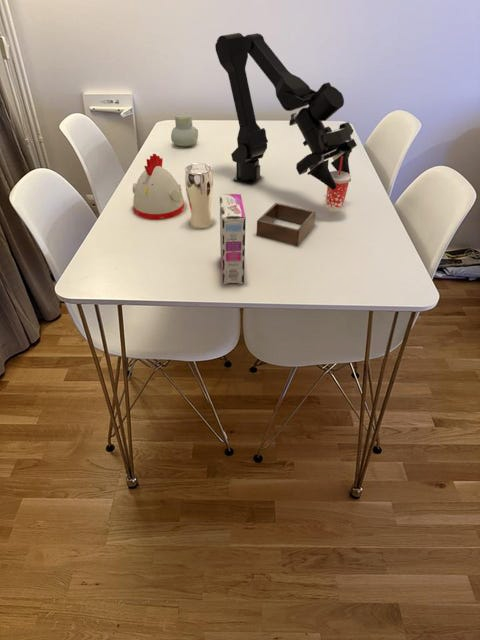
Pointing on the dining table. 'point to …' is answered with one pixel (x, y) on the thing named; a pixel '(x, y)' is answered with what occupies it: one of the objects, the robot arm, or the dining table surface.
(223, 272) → the candy bar box
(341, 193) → the beverage cup
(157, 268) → the dining table surface
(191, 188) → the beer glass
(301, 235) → the crate
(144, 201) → the kitchen timer
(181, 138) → the air freshener
